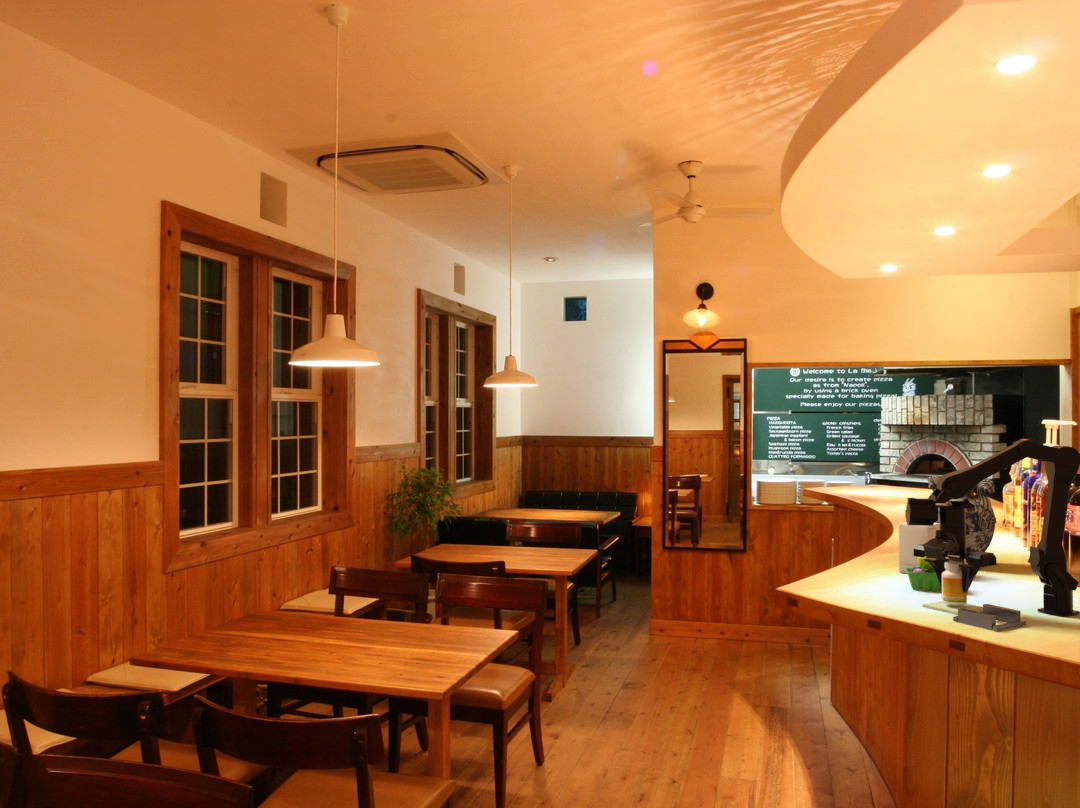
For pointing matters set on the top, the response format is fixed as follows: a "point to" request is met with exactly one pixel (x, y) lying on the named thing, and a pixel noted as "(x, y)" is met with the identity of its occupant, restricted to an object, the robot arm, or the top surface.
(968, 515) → the decorative vase
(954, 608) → the pad
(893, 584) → the top surface
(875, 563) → the top surface
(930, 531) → the supplement box
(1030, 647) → the top surface
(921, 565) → the fruit basket
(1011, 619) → the grey low square frame
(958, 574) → the supplement bottle
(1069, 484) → the robot arm
